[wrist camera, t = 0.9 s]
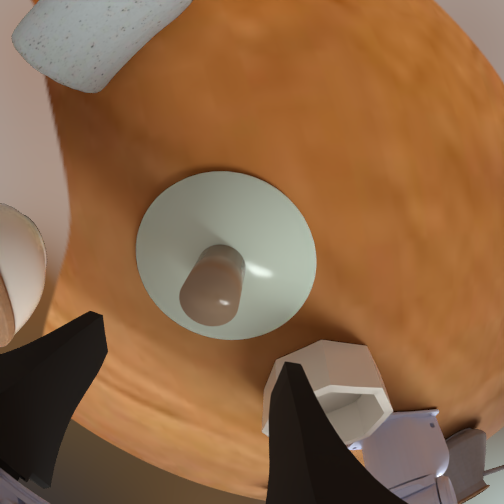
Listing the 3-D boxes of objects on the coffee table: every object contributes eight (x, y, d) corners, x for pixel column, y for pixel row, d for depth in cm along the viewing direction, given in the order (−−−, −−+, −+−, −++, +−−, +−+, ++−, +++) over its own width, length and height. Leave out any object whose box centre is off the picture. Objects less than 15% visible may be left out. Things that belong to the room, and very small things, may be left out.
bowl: (394, 348, 19) (412, 387, 15) (348, 414, 23) (354, 450, 19) (285, 333, 19) (288, 379, 15) (256, 406, 23) (253, 445, 19)
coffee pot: (434, 460, 31) (450, 519, 17) (413, 455, 29) (431, 527, 15) (524, 391, 24) (554, 446, 10) (521, 371, 21) (561, 438, 8)
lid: (337, 196, 16) (361, 217, 11) (286, 345, 20) (288, 393, 16) (149, 156, 15) (108, 164, 11) (139, 311, 20) (112, 350, 16)
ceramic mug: (217, 12, 11) (180, -60, 4) (119, 102, 14) (31, 90, 7) (131, -43, 9) (82, -87, 2) (55, 32, 11) (-13, 14, 4)
